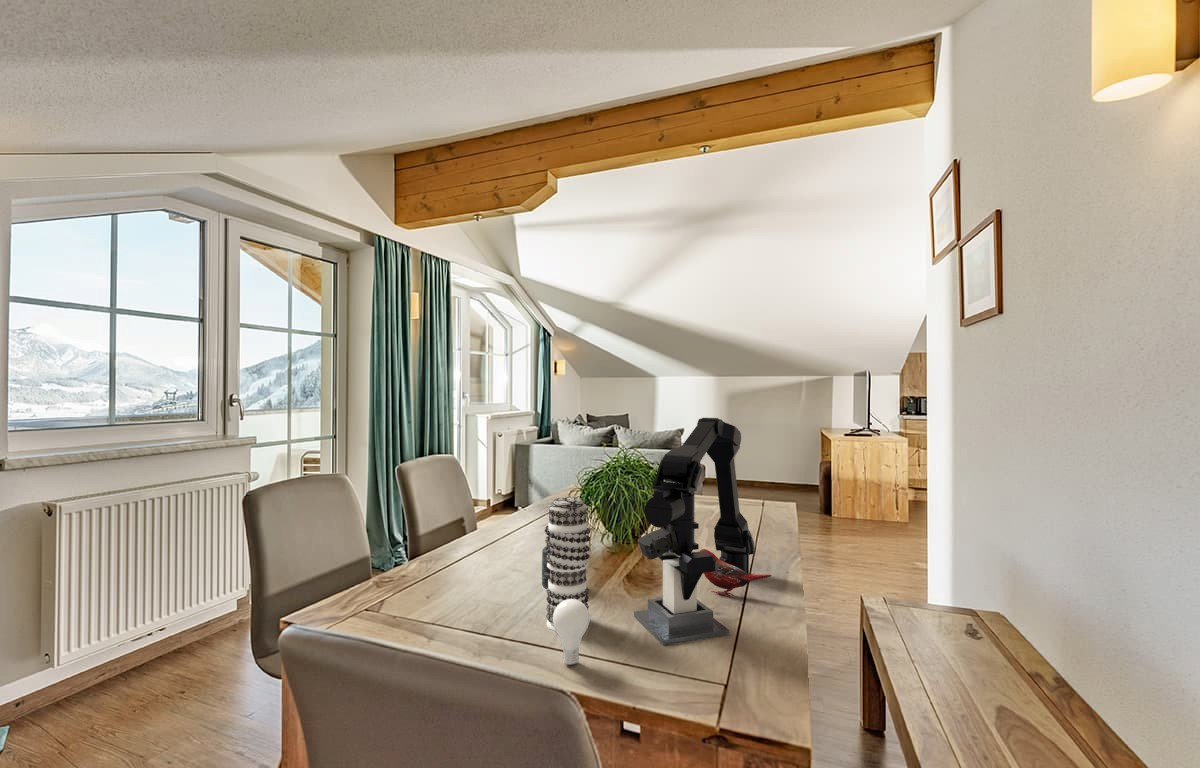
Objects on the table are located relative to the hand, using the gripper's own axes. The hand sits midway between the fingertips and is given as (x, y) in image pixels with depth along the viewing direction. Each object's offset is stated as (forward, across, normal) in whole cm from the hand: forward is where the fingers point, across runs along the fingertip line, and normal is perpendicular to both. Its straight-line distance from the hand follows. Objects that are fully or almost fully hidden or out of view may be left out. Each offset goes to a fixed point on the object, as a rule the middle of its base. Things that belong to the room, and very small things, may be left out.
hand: (679, 594), depth 112 cm
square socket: (+6, 0, 0) cm, 6 cm away
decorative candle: (+6, -8, -21) cm, 23 cm away
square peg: (+2, 0, 0) cm, 3 cm away
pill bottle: (+6, -30, -18) cm, 35 cm away
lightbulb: (+6, +8, -25) cm, 27 cm away
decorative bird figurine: (+6, -10, +18) cm, 22 cm away
